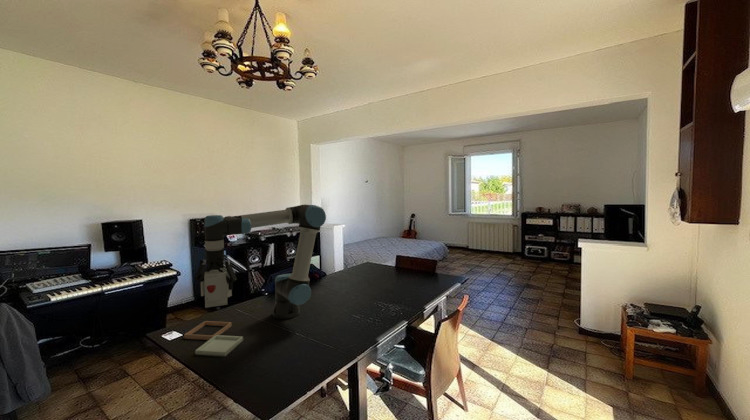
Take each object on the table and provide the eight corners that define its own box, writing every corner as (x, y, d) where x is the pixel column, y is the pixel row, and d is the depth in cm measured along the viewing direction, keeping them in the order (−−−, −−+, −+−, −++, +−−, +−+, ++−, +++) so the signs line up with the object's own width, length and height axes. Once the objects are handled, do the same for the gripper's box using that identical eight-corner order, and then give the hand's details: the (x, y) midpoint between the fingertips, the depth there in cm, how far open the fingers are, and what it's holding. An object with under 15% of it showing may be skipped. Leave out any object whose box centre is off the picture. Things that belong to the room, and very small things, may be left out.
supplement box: (204, 308, 131) (203, 274, 130) (206, 301, 139) (204, 269, 138) (227, 304, 135) (226, 272, 134) (227, 298, 143) (226, 267, 142)
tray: (243, 340, 143) (242, 336, 143) (225, 356, 129) (225, 352, 129) (215, 338, 145) (215, 335, 145) (195, 354, 131) (195, 350, 131)
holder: (231, 326, 158) (231, 322, 158) (212, 340, 144) (212, 336, 143) (205, 324, 160) (205, 320, 160) (184, 338, 145) (184, 334, 145)
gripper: (244, 248, 138) (245, 294, 139) (196, 247, 141) (198, 291, 143) (234, 251, 130) (235, 300, 132) (184, 250, 134) (186, 297, 135)
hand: (216, 295), depth 137 cm, fingers closed on supplement box, 12 cm apart
